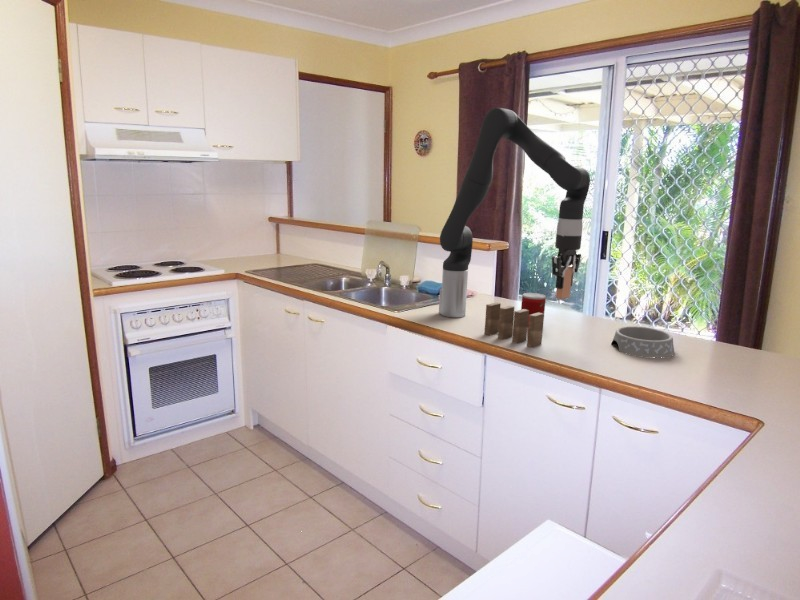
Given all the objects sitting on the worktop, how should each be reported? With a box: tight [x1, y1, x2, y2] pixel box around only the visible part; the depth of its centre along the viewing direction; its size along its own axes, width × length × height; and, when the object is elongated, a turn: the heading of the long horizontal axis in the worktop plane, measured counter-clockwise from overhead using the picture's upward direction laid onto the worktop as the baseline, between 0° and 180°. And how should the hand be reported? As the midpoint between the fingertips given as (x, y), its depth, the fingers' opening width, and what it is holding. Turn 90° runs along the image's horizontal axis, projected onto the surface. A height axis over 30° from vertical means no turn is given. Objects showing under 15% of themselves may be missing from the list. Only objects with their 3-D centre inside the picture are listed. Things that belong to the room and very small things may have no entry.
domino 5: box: [555, 266, 572, 300], centre depth 171 cm, size 2×5×10 cm, turn 134°
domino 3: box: [511, 308, 529, 344], centre depth 172 cm, size 2×5×10 cm, turn 133°
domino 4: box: [526, 312, 545, 349], centre depth 168 cm, size 2×5×10 cm, turn 134°
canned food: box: [520, 292, 547, 327], centre depth 190 cm, size 8×8×11 cm
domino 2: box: [497, 305, 515, 340], centre depth 176 cm, size 2×5×10 cm, turn 134°
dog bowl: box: [611, 325, 675, 359], centre depth 168 cm, size 17×18×5 cm
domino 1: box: [484, 302, 502, 336], centre depth 180 cm, size 2×5×10 cm, turn 133°
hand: (563, 287), depth 172 cm, fingers closed on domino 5, 5 cm apart
